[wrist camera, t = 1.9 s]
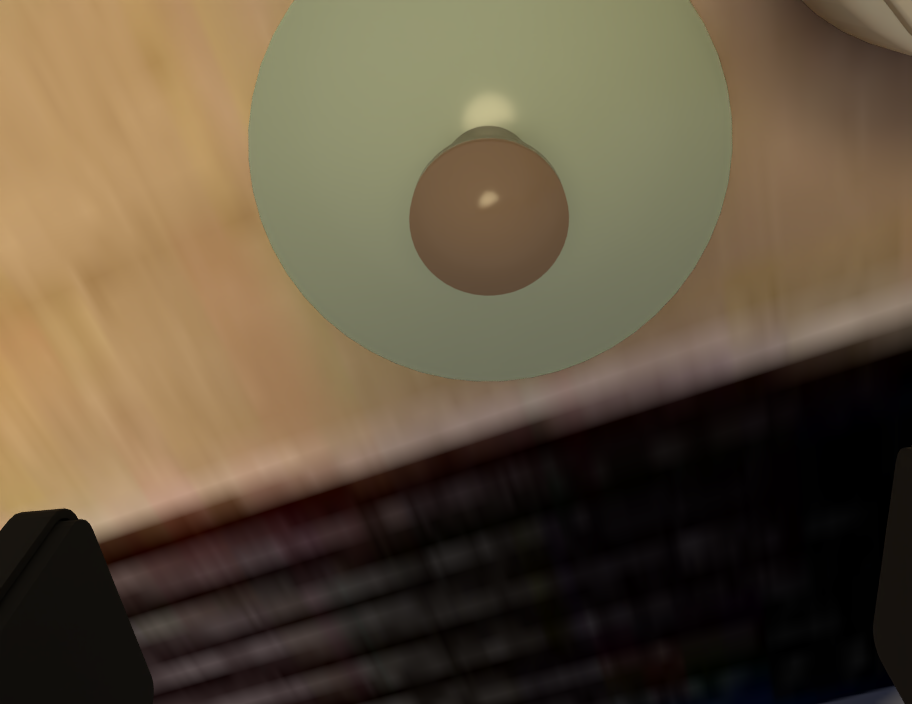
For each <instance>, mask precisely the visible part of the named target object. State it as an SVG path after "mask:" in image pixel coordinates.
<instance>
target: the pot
mask: <svg viewBox="0 0 912 704" xmlns="http://www.w3.org/2000/svg"><path fill="white" fill-rule="evenodd" d="M801 1H802V2H803V3H805V4H806V5H807V6H808V7H809V8H810V9H811V10H812V11H813V12H814V13H816V14H817V15H818V16H819V17H821V18H823V19H824V20H826V21H827V22H829V23H830V24H832V25H833V26H835V27H836V28H838V29H839V30H841V31H843V32H845V33H847V34H849V35H852V36H854V37H856V38H858V39H861V40H863V41H865V42H867V43H870V44H873V45H877V46H880V47H883V48H887V49H890V50H893V51H897V52H900V53H903V54H907V55H910V56H912V0H801Z"/></svg>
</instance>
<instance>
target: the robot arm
mask: <svg viewBox="0 0 912 704" xmlns="http://www.w3.org/2000/svg"><path fill="white" fill-rule="evenodd" d="M873 634H874V641H875V646H876V649H877V652H878V655H879V657H880V659H881V662H882V663H883V665H884V667H885V669H886V671H887V673H888V674H889V676H890V678H891V680H892V682H893V683H894V685H895V687H896V689H897V691H898V692H899V694H900V696H901V698H902V700H903V701H904V703H905V704H912V446H911V447H907V448H903V449H901V450H900V451H899V453H898V455H897V459H896V465H895V473H894V480H893V487H892V494H891V501H890V509H889V516H888V523H887V530H886V537H885V545H884V552H883V559H882V566H881V573H880V581H879V588H878V595H877V602H876V609H875V617H874V624H873ZM153 694H154V688H153V680H152V677H151V674H150V672H149V669H148V667H147V664H146V662H145V659H144V657H143V654H142V652H141V649H140V647H139V644H138V642H137V639H136V636H135V634H134V631H133V629H132V626H131V624H130V621H129V619H128V616H127V614H126V611H125V609H124V606H123V604H122V601H121V599H120V596H119V594H118V591H117V589H116V586H115V584H114V581H113V579H112V576H111V574H110V571H109V569H108V566H107V564H106V561H105V559H104V556H103V554H102V551H101V549H100V546H99V544H98V541H97V539H96V536H95V534H94V531H93V529H92V527H91V525H90V524H89V523H88V522H87V521H86V520H82V519H79V520H78V518H77V516H76V514H74V513H73V512H72V511H71V510H69V509H53V510H42V511H30V512H21V513H18V514H15V515H14V516H13V517H12V518H11V519H10V520H9V521H8V522H7V523H6V524H5V526H4V527H3V528H2V529H1V531H0V704H152V703H153Z"/></svg>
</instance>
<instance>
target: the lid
mask: <svg viewBox="0 0 912 704" xmlns="http://www.w3.org/2000/svg"><path fill="white" fill-rule="evenodd" d="M248 133H249V166H250V173H251V180H252V187H253V193H254V196H255V200H256V204H257V207H258V211H259V215H260V218H261V221H262V224H263V226H264V229H265V231H266V234H267V236H268V238H269V241H270V243H271V246H272V248H273V250H274V252H275V253H276V255H277V257H278V259H279V260H280V262H281V264H282V266H283V267H284V269H285V271H286V273H287V274H288V275H289V277H290V278H291V280H292V281H293V282H294V284H295V285H296V286H297V288H298V289H299V290H300V292H301V293H302V294H303V296H304V297H305V298H306V299H307V300H308V301H309V302H310V303H311V304H312V305H313V306H314V307H315V308H316V310H317V311H318V312H319V313H320V314H321V315H322V316H323V317H324V318H325V319H327V320H328V321H329V322H330V323H331V324H333V325H334V326H335V327H336V328H337V329H339V330H340V331H341V332H342V333H344V334H345V335H346V336H347V337H349V338H351V339H352V340H354V341H355V342H357V343H358V344H360V345H361V346H363V347H365V348H366V349H368V350H369V351H371V352H373V353H375V354H377V355H379V356H381V357H383V358H386V359H388V360H390V361H392V362H394V363H396V364H399V365H402V366H405V367H408V368H410V369H413V370H416V371H419V372H422V373H427V374H431V375H436V376H440V377H444V378H450V379H459V380H468V381H508V380H516V379H524V378H532V377H536V376H540V375H544V374H548V373H553V372H557V371H560V370H563V369H566V368H568V367H571V366H574V365H576V364H579V363H582V362H585V361H587V360H589V359H591V358H593V357H595V356H597V355H599V354H601V353H603V352H604V351H606V350H608V349H610V348H612V347H613V346H615V345H617V344H618V343H620V342H621V341H623V340H624V339H626V338H627V337H629V336H630V335H632V334H633V333H635V332H636V331H637V330H638V329H639V328H641V327H642V326H643V325H644V324H645V323H646V322H648V321H649V320H650V319H651V318H652V317H654V316H655V315H656V314H657V313H658V312H659V311H660V310H661V309H662V308H663V307H664V305H665V304H666V303H667V302H668V301H669V300H670V299H671V298H672V297H673V296H674V295H675V294H676V293H677V291H678V290H679V289H680V287H681V286H682V284H683V283H684V282H685V280H686V279H687V277H688V276H689V275H690V273H691V272H692V271H693V269H694V268H695V266H696V264H697V262H698V261H699V259H700V257H701V255H702V253H703V252H704V250H705V248H706V246H707V244H708V242H709V240H710V238H711V235H712V233H713V230H714V228H715V225H716V223H717V220H718V218H719V215H720V213H721V209H722V205H723V201H724V197H725V194H726V190H727V186H728V181H729V173H730V165H731V157H732V116H731V109H730V102H729V95H728V89H727V84H726V81H725V77H724V74H723V70H722V67H721V63H720V60H719V57H718V54H717V51H716V49H715V47H714V45H713V42H712V40H711V38H710V36H709V34H708V31H707V29H706V27H705V25H704V23H703V21H702V20H701V18H700V17H699V15H698V13H697V12H696V10H695V9H694V7H693V6H692V4H691V2H690V1H689V0H294V2H293V3H292V4H291V5H290V7H289V9H288V11H287V12H286V14H285V16H284V17H283V19H282V21H281V23H280V24H279V26H278V28H277V29H276V31H275V33H274V34H273V37H272V39H271V42H270V44H269V47H268V49H267V51H266V54H265V56H264V59H263V61H262V63H261V66H260V70H259V74H258V78H257V81H256V85H255V89H254V93H253V97H252V104H251V112H250V120H249V128H248Z"/></svg>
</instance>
